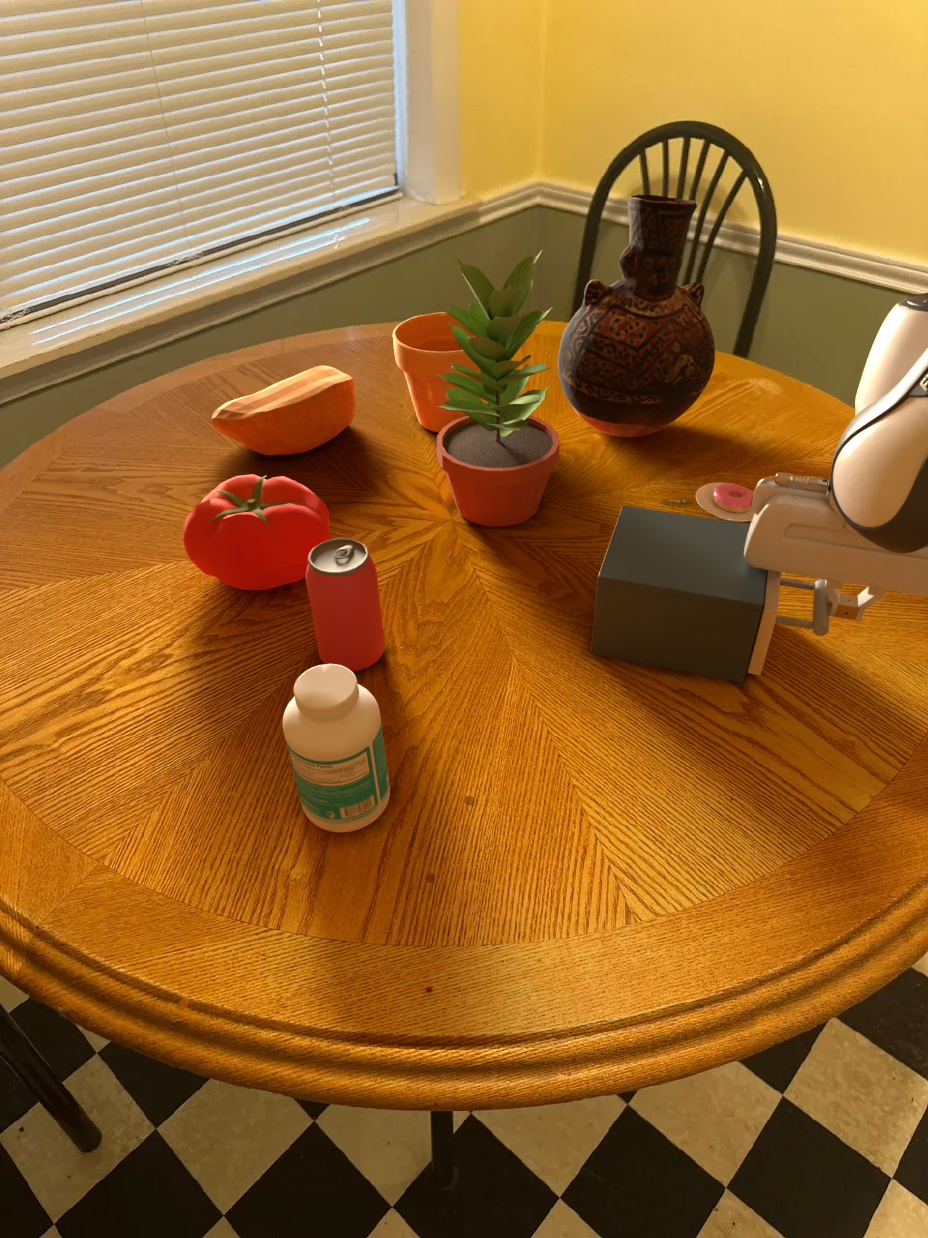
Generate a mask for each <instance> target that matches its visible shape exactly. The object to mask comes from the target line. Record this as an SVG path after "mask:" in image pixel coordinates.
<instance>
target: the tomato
mask: <svg viewBox="0 0 928 1238" xmlns="http://www.w3.org/2000/svg"><path fill="white" fill-rule="evenodd" d="M265 478H267V475H264V476H262V477H261V476H258V475H256V474H253V473H252V474H244V475H236V476H234V477H231V478H229V479H226V480H225V481H222V482H221V483H220V484H219V485H217V486H216V487H215V488H214V489H210V492H209V493H208V494H207V495H205V497H204V498H203V499H202V500H201V502H200V503H197V504H196V505H195V506H194V508H193V509H192V510H191V511H190V513H189V514H188V515H187V516H186V519H185V522H184V524H183V527H182V529H181V531H182V542H183V546H184V550H185V552H186V554H187V556H188V558H189V560H190V562H192V563H193V564H194V565H195V566H196V567H197V568H198V569H199V570H200V571H201V572H203V574H205V575H207V576H211V577H214V578H216V579H217V580H219V581H221V582H222V583H223V584H225V585H227V586H230V587H232V588H237V589H241V590H245V591H266V590H270V589H274V588H277V587H280V586H284V585H289V584H292V583H297V582H299V581H301V580H302V579H304V578H306V570H307V566H308V563H309V562H308V556H309V553H310V552H311V551H312V549H313V548H314V547H315V546H317V545H319V544H320V543H322V542H325V541H328V540H331V539H332V537H331V534H330V530H329V526H330V515H331V513H330V511H329V509H328V506H327V504H326V503H325V502H324V501H323V500H321V498H320V497H318V496H317V494H315V493H314V492H313V491H312V490H310V489H309V488H308V487H307V486H305V485H303V484H302V483H299V482H297V481H296V480H293V479H291V478H289V477H286V476H283V475H281V476H275V477H271V478H268V479H265Z"/></svg>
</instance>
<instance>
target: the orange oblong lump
mask: <svg viewBox="0 0 928 1238" xmlns="http://www.w3.org/2000/svg"><path fill="white" fill-rule="evenodd" d="M355 411H356V396H355V380H354V379H353V377H352V376H351V375H349V374H347V373H344V372H342V371H340V369H337V368H335V367H332V366H329V365H318V366H315V367H314V366H313V368H309V369H308V370H305V371H302V372H300V373H298V374H296V375H294V376H290V377H288V378H285V379H284V380H281V381H278V382H276V383H274V384H271V385H270V386H268V387H266V388H264V389H261V390H259V391H257V392H255V393H253V394H249V395H245V396H241V397H239V398H235V399H233V400H230V401H227V402H225V403H223V404H222V405H220V406H219V407H218V408H216V409H215V410H214V411H213V413H212V416H211V418H210V422H211V425H212V427H213V428H214V429H215V430H216V431H218V432H219V433H220V434H222V435H224V436H226V437H229V438H231V439H233V440H235V441H237V442H239V443H241V444H242V445H244V446H246V447H247V448H248V449H250V450H252V451H253V452H256V453H258V454H261V455H263V456H264V455H265V456H284V455H295V454H296V455H297V454H303V453H306V452H308V451H312V450H314V449H316V448H318V447H320V446H321V445H324V444H326V443H327V442H329V441H331V440H332V439H333V438H335V437H338V435H339V434H340V433H342V432H343V431H344V430H345V429H346V428H347V427H349V426H350V424H351V423H352V422H353V420H354V417H355V413H356V412H355Z"/></svg>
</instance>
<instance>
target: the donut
mask: <svg viewBox="0 0 928 1238" xmlns="http://www.w3.org/2000/svg"><path fill="white" fill-rule="evenodd" d="M753 492H754V491H752V490H750V489H749V488H747V487H746V486H744V485H740V484H737V483H732V482H711V483H706V484H704V485H702V486H701V487H699V488H698V489H697V490H696V492H695V500H696V502H697V504H698V505H699V506H700V508H701V509H703V510H704V511H705V512H707V513H708V514H710V515H711V516H714V517H716V518H719V519H721V520H725V521H731V522H738V523H746V522H752V519H753V517H754V514H755V513H754V511H753V509H752V506H751V501H752V496H753ZM673 502H674V503H680V502H681V499H678V500H671V499H669V503H673ZM682 502H683V503H684V504H685V503H686V502H687V501H686V499H683V500H682Z"/></svg>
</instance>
